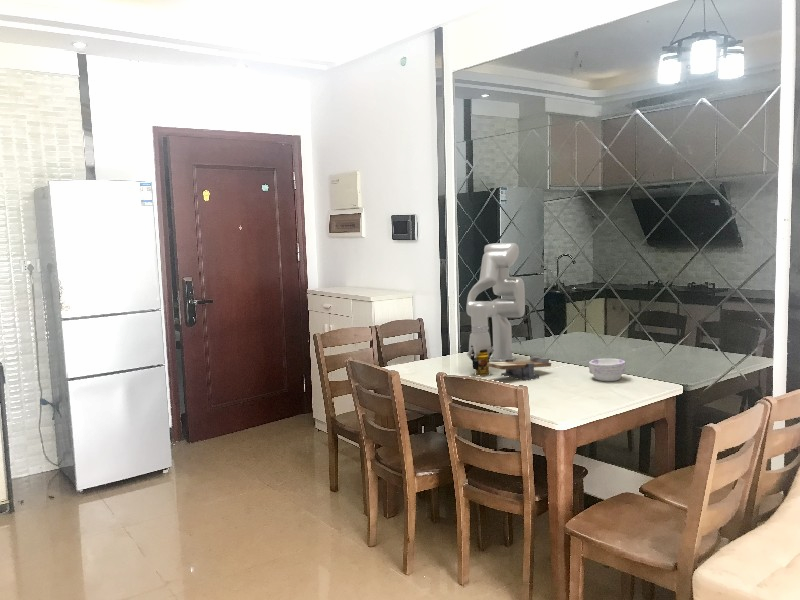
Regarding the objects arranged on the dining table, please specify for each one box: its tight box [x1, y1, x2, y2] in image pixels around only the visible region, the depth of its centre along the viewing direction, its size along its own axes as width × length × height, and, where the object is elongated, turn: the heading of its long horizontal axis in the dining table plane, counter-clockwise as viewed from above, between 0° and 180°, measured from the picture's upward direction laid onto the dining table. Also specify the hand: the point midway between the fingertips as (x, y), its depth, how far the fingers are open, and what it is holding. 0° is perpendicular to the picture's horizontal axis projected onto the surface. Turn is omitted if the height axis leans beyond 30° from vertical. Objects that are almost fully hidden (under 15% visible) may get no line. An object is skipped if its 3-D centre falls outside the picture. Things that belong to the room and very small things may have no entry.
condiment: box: [470, 349, 490, 377], centre depth 303 cm, size 7×8×12 cm
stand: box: [500, 359, 540, 381], centre depth 295 cm, size 16×8×7 cm, turn 34°
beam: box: [487, 355, 552, 371], centre depth 294 cm, size 10×30×4 cm, turn 124°
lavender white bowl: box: [588, 358, 627, 382], centre depth 282 cm, size 15×15×8 cm
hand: (481, 367), depth 303 cm, fingers closed on condiment, 6 cm apart
